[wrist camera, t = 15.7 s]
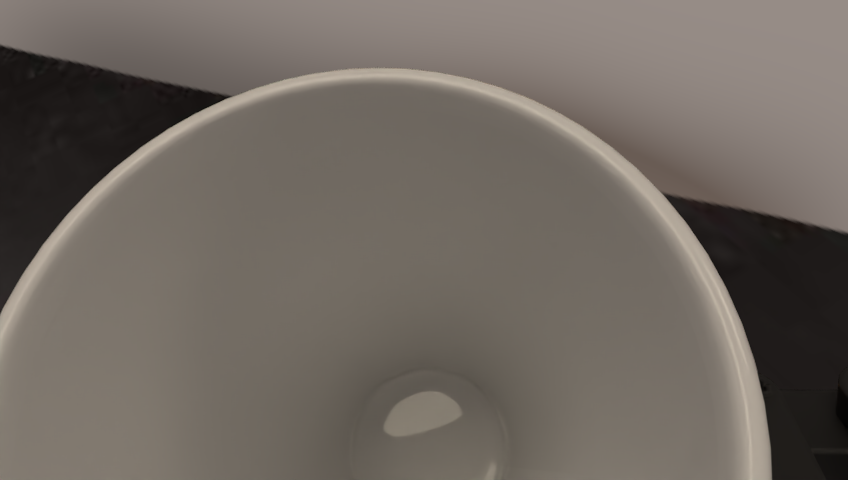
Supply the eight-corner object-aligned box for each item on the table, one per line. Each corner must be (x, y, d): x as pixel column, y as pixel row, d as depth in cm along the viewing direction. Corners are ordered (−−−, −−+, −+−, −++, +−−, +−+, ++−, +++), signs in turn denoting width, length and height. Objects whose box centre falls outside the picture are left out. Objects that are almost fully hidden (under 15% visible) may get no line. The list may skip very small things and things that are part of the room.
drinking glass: (578, 486, 18) (1013, 550, 4) (395, 616, 17) (78, 1354, 3) (461, 310, 20) (468, -44, 6) (294, 414, 19) (-148, 270, 5)
